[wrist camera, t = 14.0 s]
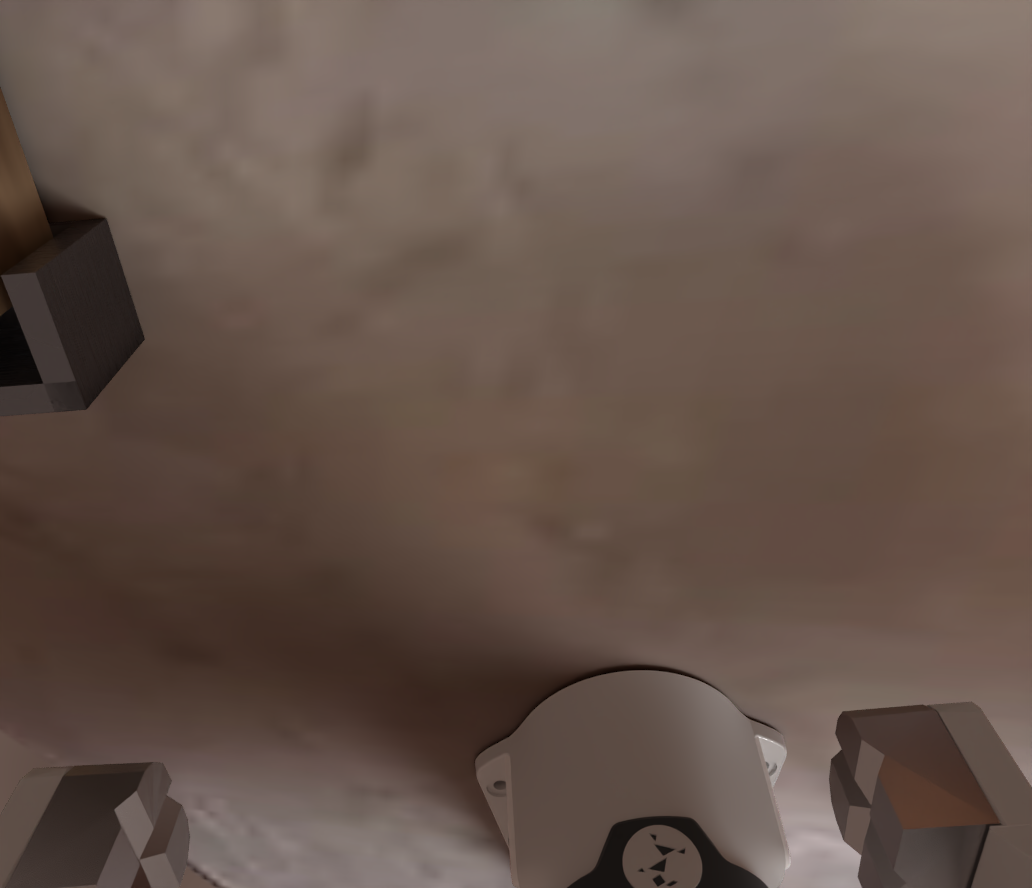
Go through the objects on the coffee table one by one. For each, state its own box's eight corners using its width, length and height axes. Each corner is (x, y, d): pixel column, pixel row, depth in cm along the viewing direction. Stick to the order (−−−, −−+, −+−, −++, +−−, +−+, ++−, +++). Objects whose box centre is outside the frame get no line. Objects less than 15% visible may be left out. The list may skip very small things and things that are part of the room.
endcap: (144, 339, 38) (86, 409, 33) (-22, 352, 38) (-108, 424, 33) (106, 218, 35) (35, 272, 30) (-73, 232, 35) (-177, 289, 30)
